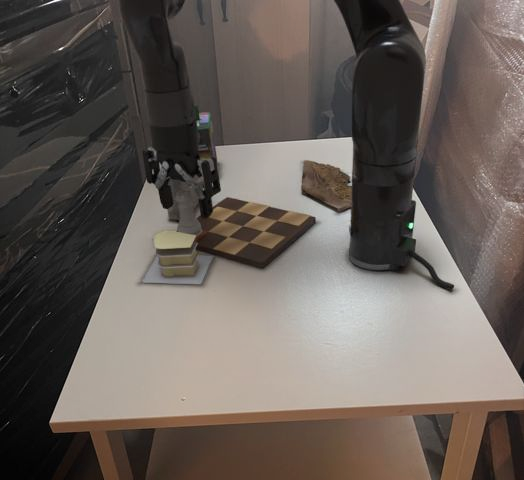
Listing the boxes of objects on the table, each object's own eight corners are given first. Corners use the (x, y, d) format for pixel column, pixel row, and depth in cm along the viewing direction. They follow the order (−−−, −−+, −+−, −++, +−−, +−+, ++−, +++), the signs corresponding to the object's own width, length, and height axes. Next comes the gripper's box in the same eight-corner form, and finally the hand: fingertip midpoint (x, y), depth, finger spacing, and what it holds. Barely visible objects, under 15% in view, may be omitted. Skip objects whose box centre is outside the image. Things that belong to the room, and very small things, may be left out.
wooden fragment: (369, 208, 110) (369, 202, 110) (312, 215, 110) (311, 210, 109) (335, 158, 130) (335, 154, 130) (286, 164, 130) (286, 160, 129)
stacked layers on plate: (213, 256, 101) (209, 227, 97) (201, 284, 94) (196, 254, 91) (157, 254, 102) (152, 226, 99) (141, 282, 96) (134, 253, 92)
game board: (315, 222, 108) (315, 216, 107) (262, 269, 97) (262, 262, 96) (227, 202, 117) (227, 196, 116) (169, 242, 106) (168, 236, 105)
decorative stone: (193, 222, 111) (181, 144, 102) (163, 221, 112) (148, 144, 103) (208, 197, 119) (198, 123, 110) (180, 197, 120) (168, 122, 111)
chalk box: (217, 163, 133) (209, 95, 124) (216, 180, 126) (208, 108, 116) (177, 166, 133) (166, 98, 124) (174, 183, 126) (162, 112, 117)
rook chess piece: (183, 227, 107) (176, 186, 102) (206, 229, 106) (200, 187, 101) (174, 239, 104) (166, 197, 99) (197, 241, 102) (190, 198, 97)
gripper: (122, 118, 93) (142, 213, 103) (192, 130, 86) (206, 229, 96) (153, 104, 97) (169, 196, 108) (222, 114, 91) (232, 211, 101)
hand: (187, 212), depth 102 cm, fingers open, 8 cm apart
